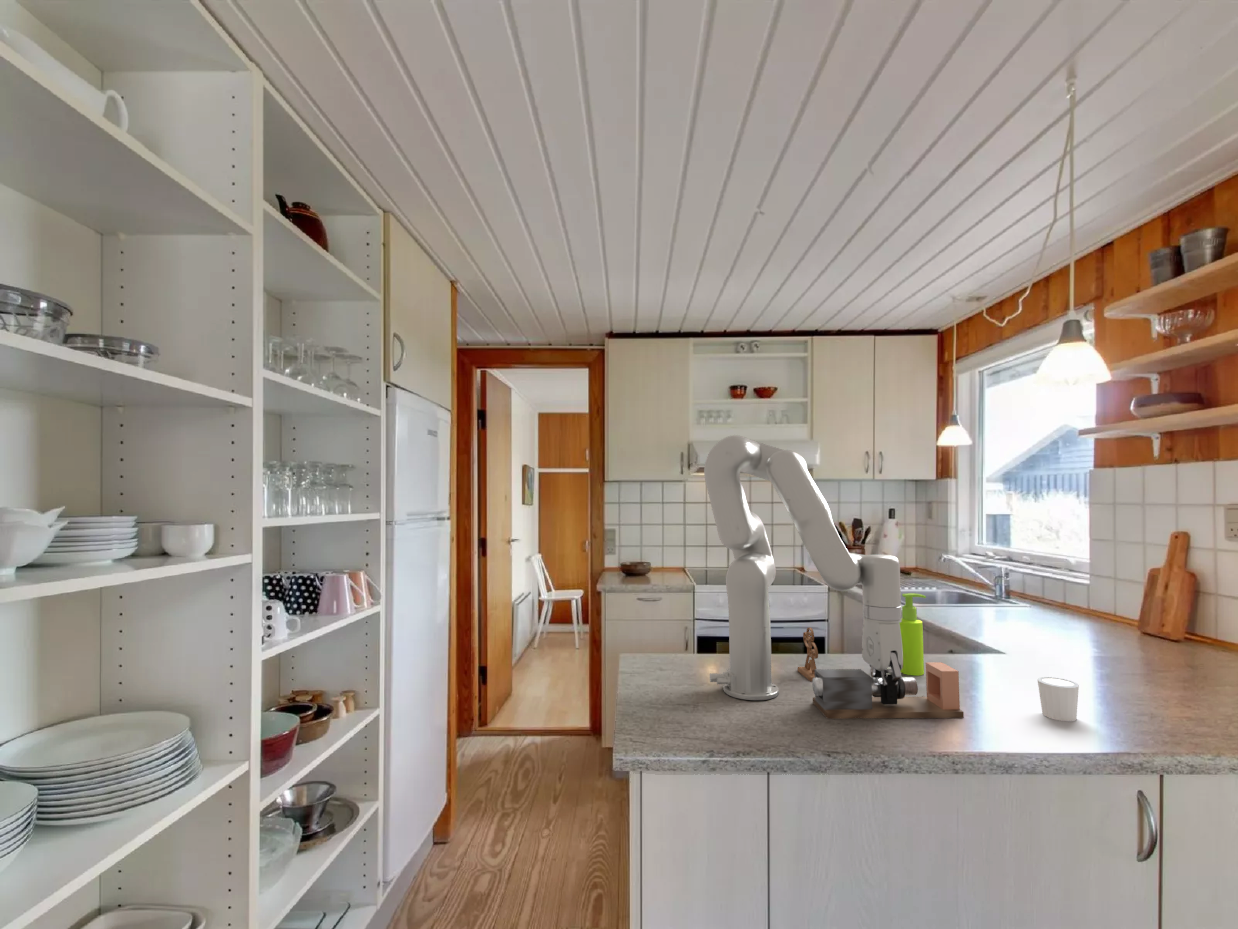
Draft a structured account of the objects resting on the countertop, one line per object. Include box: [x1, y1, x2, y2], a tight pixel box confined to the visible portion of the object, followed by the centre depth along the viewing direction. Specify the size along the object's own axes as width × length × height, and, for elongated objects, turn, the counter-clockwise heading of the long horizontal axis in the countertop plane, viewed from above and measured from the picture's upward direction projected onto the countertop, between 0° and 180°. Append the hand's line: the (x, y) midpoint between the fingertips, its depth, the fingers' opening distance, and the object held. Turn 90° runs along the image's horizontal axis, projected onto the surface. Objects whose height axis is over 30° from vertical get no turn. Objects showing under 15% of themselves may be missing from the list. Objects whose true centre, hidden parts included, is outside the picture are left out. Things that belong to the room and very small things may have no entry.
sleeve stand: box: [812, 668, 965, 720], centre depth 125 cm, size 28×9×8 cm, turn 90°
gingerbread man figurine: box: [797, 627, 819, 682], centre depth 149 cm, size 9×4×12 cm, turn 4°
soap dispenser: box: [899, 592, 927, 677], centre depth 151 cm, size 6×7×20 cm
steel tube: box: [811, 675, 919, 699], centre depth 125 cm, size 21×5×5 cm, turn 90°
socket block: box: [925, 661, 961, 710], centre depth 125 cm, size 4×6×8 cm, turn 0°
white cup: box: [1037, 676, 1080, 722], centre depth 121 cm, size 7×7×7 cm
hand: (884, 699), depth 125 cm, fingers closed on steel tube, 3 cm apart
